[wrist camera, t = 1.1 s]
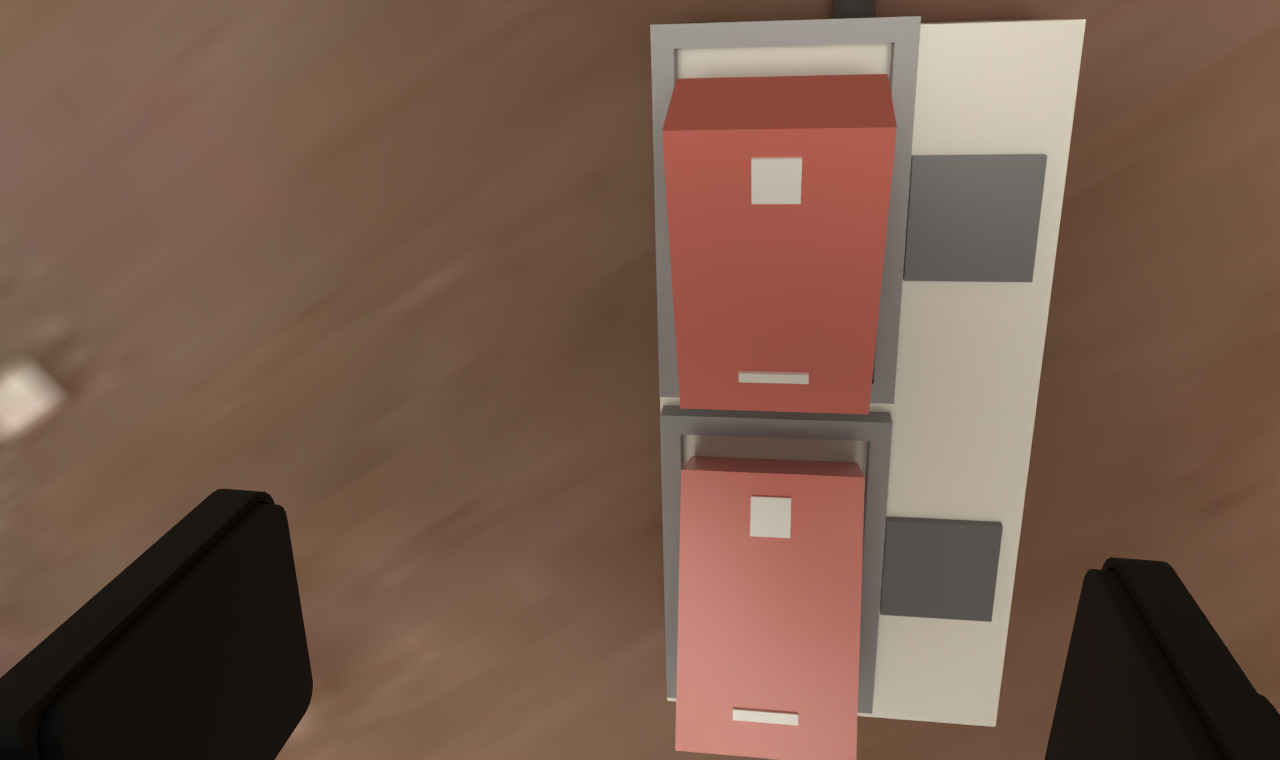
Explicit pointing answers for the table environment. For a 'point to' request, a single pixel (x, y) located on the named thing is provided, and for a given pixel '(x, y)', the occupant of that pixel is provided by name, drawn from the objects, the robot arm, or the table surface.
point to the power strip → (912, 332)
